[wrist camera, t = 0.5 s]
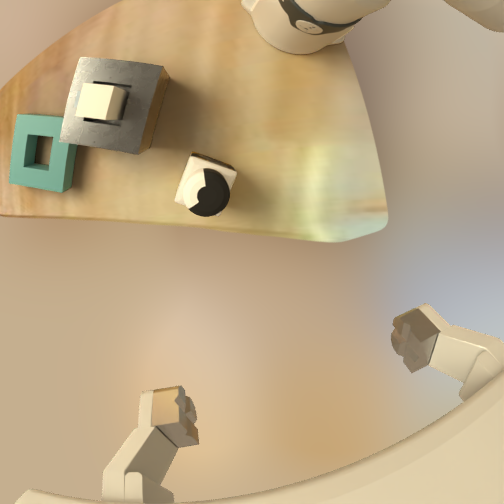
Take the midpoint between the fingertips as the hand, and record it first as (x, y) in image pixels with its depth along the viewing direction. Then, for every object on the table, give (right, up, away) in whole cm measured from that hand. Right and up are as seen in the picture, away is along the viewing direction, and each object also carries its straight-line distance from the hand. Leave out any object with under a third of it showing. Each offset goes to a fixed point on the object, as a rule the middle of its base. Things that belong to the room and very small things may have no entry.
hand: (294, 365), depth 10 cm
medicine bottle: (-9, +16, +37) cm, 41 cm away
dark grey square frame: (-22, +27, +29) cm, 45 cm away
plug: (-21, +25, +24) cm, 40 cm away
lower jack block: (-37, +22, +29) cm, 51 cm away
